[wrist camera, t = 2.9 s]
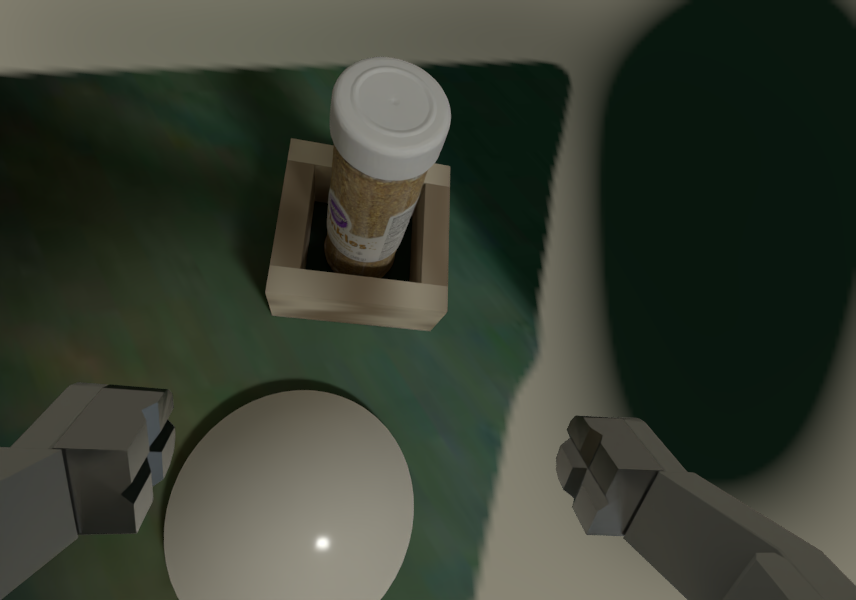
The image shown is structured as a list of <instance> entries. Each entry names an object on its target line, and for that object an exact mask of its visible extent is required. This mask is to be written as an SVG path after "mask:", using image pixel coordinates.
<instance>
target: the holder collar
mask: <svg viewBox="0 0 856 600" xmlns="http://www.w3.org/2000/svg"><path fill="white" fill-rule="evenodd" d="M333 148H334V146H333V145H327V144H322V143H316V142H310V141H305V140H299V139H294V138H291V142H290V148H289V154H288V160H287V166H286V172H285V178H284V184H283V189H282V195H281V201H280V207H279V213H278V219H277V225H276V231H275V237H274V243H273V249H272V255H271V261H270V267H269V273H268V279H267V285H266V291H265V293H266V297H267V300H268V303H269V307H270V310H271V313H272V316H281V317H291V318H301V319H312V320H322V321H332V322H342V323H353V324H363V325H373V326H383V327H394V328H404V329H414V330H424V331H431V330H432V328H433V327H434V326H435V325H436V324H437V323H438V322H439V321H440V320H441V318H442V317H443V316H444V315H445V314H446V313H447V300H448V250H449V200H450V166H446V165H440V164H435V163H434V164H433V165H432V166H431V168H429V169H428V172H427V174H426V177H425V180H424V183H423V185H422V188H421V192H420V195H419V198H418V200H417V203H416V205H415V208H414V210H413V213H412V215H411V216H412V235H411V254H410V273H409V282H406V281H398V280H390V279H381V278H373V277H364V276H356V275H348V274H339V273H331V272H323V271H314V270H306V262H307V254H308V247H309V240H310V233H311V225H312V218H313V211H314V204H315V201H316V202H323V203H328V198H329V190H330V185H331V175H332V159H333Z"/></svg>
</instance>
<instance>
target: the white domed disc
mask: <svg viewBox="0 0 856 600" xmlns="http://www.w3.org/2000/svg"><path fill="white" fill-rule="evenodd" d="M413 514H414V499H413V489H412V482H411V477H410V473H409V470H408V466H407V463H406V461H405V458H404V456H403V453H402V451H401V449H400V447H399V446H398V444H397V442H396V440H395V439H394V437H393V436H392V435H391V433H390V432H389V431H388V429H387V428H386V427H385V426H384V425H383V424H382V423H381V422H380V421H379V420H378V418H377V417H375V416H374V415H373V414H372V413H370V412H369V411H368V410H366V409H365V408H363V407H362V406H360V405H358V404H357V403H355V402H353V401H351V400H349V399H346V398H344V397H341V396H339V395H335V394H331V393H327V392H321V391H314V390H294V391H286V392H280V393H276V394H272V395H268V396H265V397H262V398H260V399H257V400H255V401H252V402H250V403H248V404H246V405H244V406H242V407H240V408H239V409H237V410H235V411H234V412H232V413H231V414H229V415H228V416H227V417H225V418H224V419H222V420H221V421H220V422H219V423H218V424H217V425H216V426H214V427H213V428H212V429H211V430H210V431H209V432H208V433H207V434H206V435H205V436H204V437H203V439H202V440H201V441H200V442H199V443H198V444H197V446H196V447H195V448H194V450H193V451H192V453H191V454H190V455H189V457H188V458H187V460H186V462H185V463H184V465H183V467H182V469H181V471H180V472H179V474H178V477H177V479H176V482H175V484H174V487H173V489H172V492H171V495H170V499H169V502H168V506H167V510H166V517H165V524H164V551H165V559H166V565H167V569H168V573H169V577H170V580H171V583H172V585H173V587H174V590H175V592H176V594H177V597H178V598H179V600H380V599H381V598H382V597H383V596H384V594H385V593H386V592H387V590H388V588H389V587H390V585H391V584H392V582H393V580H394V579H395V577H396V575H397V573H398V571H399V569H400V566H401V564H402V562H403V560H404V557H405V554H406V551H407V548H408V545H409V540H410V536H411V531H412V524H413Z"/></svg>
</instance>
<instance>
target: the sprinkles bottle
mask: <svg viewBox="0 0 856 600" xmlns="http://www.w3.org/2000/svg"><path fill="white" fill-rule="evenodd" d="M450 121H451V112H450V106H449V102H448V99H447V97H446V95H445V93H444V91H443V89H442V88H441V86H440V85H439V84H438V83H437V81H436V80H435V79H434V78H433V77H432V76H431V75H429V74H428V73H427V72H426V71H424V70H423V69H421V68H419V67H418V66H416V65H414V64H412V63H409V62H407V61H404V60H401V59H396V58H391V57H372V58H367V59H363V60H360V61H358V62H356V63H354V64H352V65H350V66H349V67H348V68H346V69H345V70H344V71H343V72H342V73H341V75H340V76H339V78H338V79H337V81H336V83H335V85H334V88H333V92H332V98H331V109H330V133H331V137H332V140H333V143H334V148H333V159H332V175H331V185H330V190H329V198H328V212H327V236H326V239H325V243H324V252H325V256H326V260H327V263H328V264H329V266H330V267H331V269H332V270H333V271H334V272H335V273H339V274H348V275H356V276H364V277H373V278H382V277H383V276H384V275H385V274H386V273H387V272H388V271H389V270H390V268H391V267H392V265H393V263H394V259H395V252H396V250H397V248H398V247H399V245H400V243H401V240H402V238H403V235H404V233H405V230H406V228H407V225H408V223H409V220H410V218H411V215H412V213H413V210H414V208H415V205H416V203H417V200H418V198H419V195H420V192H421V188H422V185H423V183H424V180H425V177H426V174H427V172H428V169H429V168H431V166H432V165H433V164H434V163H435V162H436V160H437V158H438V156H439V154H440V152H441V149H442V147H443V144H444V142H445V139H446V136H447V133H448V130H449V127H450Z"/></svg>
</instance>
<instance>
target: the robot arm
mask: <svg viewBox="0 0 856 600" xmlns="http://www.w3.org/2000/svg"><path fill="white" fill-rule="evenodd" d="M173 408H174V405H173V394H172V392H171V391H170V390H169V389H158V388H146V387H134V386H122V385H106V384H93V383H80V382H78V383H75V384H72V385H70V386H68V387H67V388H66V389H65V390H64V391H63V393H62V394H61V395H60V396H59V397H58V398H57V399H56V400H55V401H54V402H53V403H52V404H51V405H50V406H49V407H48V408H47V409H46V410H45V411H44V412H43V413H42V414H41V416H40V417H39V418H38V419H37V420H36V421H35V422H34V423H33V424H32V425H31V426H30V427H29V428H28V429H27V430H26V431H25V432H24V433H23V434H22V435H21V436H20V438H19V439H18V440H17V441H16V442H15V443H14V444H13V445H12V446H11V447H10V448H8V447H0V600H1V599H2V598H3V597H5V596H6V595H7V594H8V593H10V592H11V591H12V590H13V589H15V588H16V587H17V586H18V585H20V584H21V583H22V582H23V581H25V580H26V579H27V578H28V577H30V576H31V575H32V574H33V573H35V572H36V571H37V570H38V569H40V568H41V567H42V566H43V565H45V564H46V563H47V562H48V561H50V560H51V559H52V558H53V557H55V556H56V555H57V554H58V553H60V552H61V551H62V550H63V549H65V548H66V547H67V546H68V545H70V544H71V543H72V542H73V541H75V540H76V539H77V538H78V535H90V534H133V533H137V532H138V530H139V528H140V526H141V524H142V522H143V520H144V517H145V515H146V513H147V511H148V509H149V507H150V505H151V503H152V501H153V490H152V487H153V486H154V485H155V484H157V483H158V482H160V481H161V480H163V479H164V477H165V474H166V472H167V470H168V468H169V466H170V462H171V459H172V455H173V451H174V444H175V427H174V426H173V424H172V423H171V422H170V421H169V420H168V417H169V416H170V414H171V412H172V410H173ZM567 431H568V434H569V436H570V438H569V439H568V440H567V441H565V442H564V443H563V444H562V445H561V446H560V449H559V451H558V454H557V457H556V471H557V475H558V479H559V481H560V483H561V485H562V488H563V490H565V491H566V492H567V493H569V494H570V495H571V496H572V497H573V498H574V502H573V506H572V507H573V510H574V512H575V514H576V516H577V517H578V519H579V521H580V523H581V525H582V527H583V529H584V531H585V533H586V534H587V535H606V536H607V535H608V536H624V539H625V540H626V541H627V542H628V543H629V544H630V545H631V546H632V547H633V548H634V549H635V550H636V551H637V552H639V554H640V555H642V557H644V558H645V559H646V560H647V561H648V562H649V563H650V564H651V565H652V566H653V567H654V568H655V569H656V570H657V571H658V572H659V573H660V574H661V575H662V576H663V577H665V579H667V580H668V581H669V582H670V583H671V584H672V585H673V586H674V587H675V588H676V589H677V590H678V591H679V592H680V593H681V594H682V595H683V596H684V597H685V598H686V599H687V600H856V586H855V585H854V584H853V583H852V582H851V581H850V580H849V579H848V578H847V577H846V576H845V575H844V574H843V573H842V572H841V571H840V570H839V569H838V567H837V566H836V565H835V564H833V562H832V561H831V560H830V559H829V558H828V557H827V556H826V555H824V553H823V552H822V551H820V550H819V549H817V548H816V547H814V546H812V545H810V544H809V543H807V542H806V541H804V540H803V539H801V538H799V537H798V536H796V535H794V534H793V533H791V532H790V531H788V530H786V529H785V528H783V527H781V526H780V525H778V524H776V523H775V522H773V521H772V520H770V519H768V518H767V517H765V516H763V515H762V514H760V513H758V512H757V511H755V510H754V509H752V508H750V507H749V506H747V505H746V504H744V503H742V502H741V501H739V500H737V499H735V498H734V497H733V496H731V495H729V494H728V493H726V492H724V491H723V490H721V489H719V488H718V487H716V486H715V485H713V484H711V483H710V482H708V481H706V480H705V479H703V478H702V477H700V476H698V475H697V474H695V473H689V472H687V471H686V470H685V469H684V468H683V466H682V465H681V464H680V463H679V462H678V461H677V459H676V458H675V457H674V456H673V455H672V454H671V452H670V451H669V450H668V449H667V448H666V447H665V445H664V444H663V443H662V442H661V441H660V440H659V438H658V437H657V436H656V435H655V434H654V432H653V431H652V430H651V429H650V428H649V426H648V425H647V424H646V423H645V422H643V421H642V420H640V419H639V418H622V417H617V418H608V417H591V416H590V417H589V416H575V417H574V418H573V419H572V420H571V421H570V424H569V426H568V428H567Z"/></svg>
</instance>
